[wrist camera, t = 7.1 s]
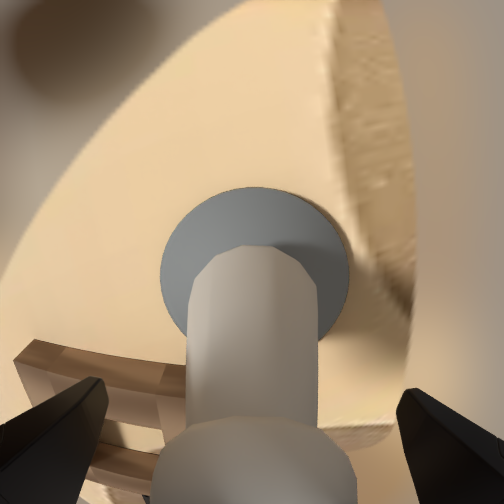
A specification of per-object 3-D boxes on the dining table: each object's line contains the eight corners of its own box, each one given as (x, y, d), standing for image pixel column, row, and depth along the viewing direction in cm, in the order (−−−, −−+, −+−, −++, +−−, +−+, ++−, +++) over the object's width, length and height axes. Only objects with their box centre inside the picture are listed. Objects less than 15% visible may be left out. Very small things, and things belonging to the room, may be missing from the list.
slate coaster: (330, 359, 18) (332, 364, 18) (168, 351, 18) (166, 356, 17) (357, 195, 15) (360, 196, 15) (162, 183, 15) (158, 184, 15)
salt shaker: (315, 237, 15) (467, 456, 3) (302, 336, 17) (355, 564, 5) (197, 229, 15) (50, 451, 3) (197, 331, 17) (137, 559, 4)
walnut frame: (219, 479, 22) (217, 505, 20) (80, 452, 22) (70, 473, 19) (216, 368, 18) (211, 401, 16) (34, 339, 18) (13, 360, 15)
